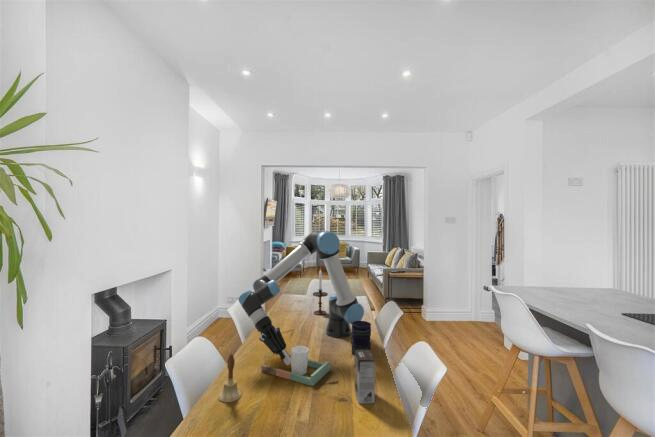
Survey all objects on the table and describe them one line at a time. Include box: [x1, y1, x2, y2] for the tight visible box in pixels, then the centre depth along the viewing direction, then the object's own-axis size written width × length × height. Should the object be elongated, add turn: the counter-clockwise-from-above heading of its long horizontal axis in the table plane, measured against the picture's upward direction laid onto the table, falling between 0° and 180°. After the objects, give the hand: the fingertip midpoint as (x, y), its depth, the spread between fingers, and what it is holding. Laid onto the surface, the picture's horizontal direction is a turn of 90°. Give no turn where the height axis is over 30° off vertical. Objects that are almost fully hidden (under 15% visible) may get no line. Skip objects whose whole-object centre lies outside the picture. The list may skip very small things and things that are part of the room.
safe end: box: [289, 358, 331, 387], centre depth 135 cm, size 11×15×4 cm
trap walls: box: [275, 368, 292, 380], centre depth 139 cm, size 7×15×2 cm, turn 153°
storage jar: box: [351, 320, 372, 357], centre depth 158 cm, size 10×10×15 cm
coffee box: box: [354, 350, 376, 405], centre depth 119 cm, size 9×6×16 cm
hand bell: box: [218, 353, 242, 403], centre depth 118 cm, size 8×8×16 cm
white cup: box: [290, 345, 309, 376], centre depth 138 cm, size 8×8×10 cm
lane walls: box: [261, 353, 291, 376], centre depth 143 cm, size 8×15×2 cm, turn 153°
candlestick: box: [312, 264, 329, 316], centre depth 226 cm, size 11×11×35 cm
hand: (289, 363), depth 139 cm, fingers closed
